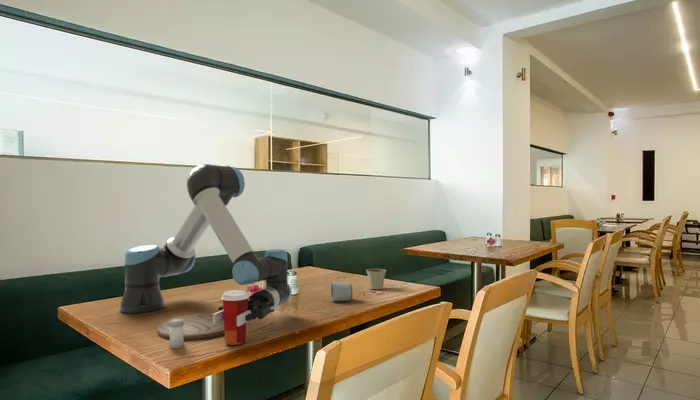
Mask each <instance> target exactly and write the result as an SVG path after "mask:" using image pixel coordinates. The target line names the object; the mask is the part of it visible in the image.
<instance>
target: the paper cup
mask: <svg viewBox="0 0 700 400" xmlns="http://www.w3.org/2000/svg"><path fill="white" fill-rule="evenodd" d="M249 297H250V295H249V293H248V292H247V291H246V290H229V291H225V292H223V294H222V295H221V298H220V300H221V301H222V306H223V315H224V332H225V335H224V342H225V344H226V345H228V346H229V345H230V346H237V345H238V346H239V345H242V344H244V343H246V338H247V323H248V322H246V323H244V324H243V325H241V326H237V316H238V315H240V314H242V313H244V312H246V311H247V308H248V299H249Z"/></svg>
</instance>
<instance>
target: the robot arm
mask: <svg viewBox="0 0 700 400" xmlns="http://www.w3.org/2000/svg"><path fill="white" fill-rule="evenodd" d="M245 184H246V182H245V177H244V174H243V173H242V172H241V170H240V169H239V168H237V167H235V166H230V165H226V166H225V165H219V164H218V165H216V164H208V163H207V164H206V163H205V164H204V163H203V164H200V165H197V166H195V167H194V168H193V169H192V170H191V171H190V173H189V174H188V177H187V181H186V188H187V194H188V196H189V197H190V200H191V201H192V203H193V204H194V206H193V207H192V209H191V210H190V212H189V213H188V215H187V217H186V219H185V220H184V222H183V223H182V225H181V226H180V227H179V229H178V231H177V233H176V234H175V236H173V237H170V238H169V239H168V240H167V241H166V243H165V244H164V246H162V247H160V246H159V245H157V244H146V245H139V246H134V247H131V248H129V249H128V250H127V251H126V252H125V258H124V274H125V275H124V279H125V280H124V283H125V285H124V292H123V295H122V299H121V301H120V304H119V311H120V312H121V313H124V314H125V313H126V314H139V313H140V314H141V313H148V312H153V311H157V310H161V309H162V308H164V306H165V299H164V297H163V295H162V294H163V293H162V291H161V288H160V278H164V277H165V278H166V277H169V276H170V277H171V276H176V275H181V274H184V273H185V274H186V273H187V272H189V271H190V270H191V269H192V268H193V267H194V265H195V262H196V249H195V247H196V245H197V244H198V243H199V242H200V239H201V238H202V236H203V235H204V234H205V232H206V231H207V229H208V227H209V226H210V227H211V228H212V230H213V232H214V234H215V235H216V237H217V239H218V240H219V242H220V244H221V245H222V247H223V249H224V250H225V252H226V254H227V256H228V258H229V259H230V260H231V262H232V263H233V267H232V269H231V270H232V271H231V274H232V278H233V280H234V282H236V284H238V285H240V286H241V285H242V286H246V285H252V284H255V283H258V282H262V281H264V282H265V287H263V288H261V289H259V290H257V291H255V292H253V293H251V294H250V295H249V298H248V308H247V311H246V312H244V313H242V314H240V315H238V316H237V326H241V325H243V324H244V323H246V322H247V323H248V322H249V321H252V320H257V319H258V320H259V321H260V320H263V319H265V318H266V317H267V316H268V315H269V314H271V313H273V312H275V309H276V308H277V307H279V306H281V305H284V304H285V303H286V302H288V300H290V298H291V297H292V287H291V286H290V284H289V283H288V263H289V262H288V261H289V260H288V252H287V250H286V249H281V248H270V249H267V250H266V251H265V253H264V254H265V255H264V256H263V257H258V256H257V254H256V253H255V252H254V249H253V248H252V246H251V245H250V243H249V241H248V240H247V238H246V237H245V235H244V233H243V232H242V230H241V229H240V227H239V226H238V224H237V222H236V220H235V219H234V217H233V215H232V214H231V212H230V211H229V209H228V208H227V206H228V205H229V203H230V201H231V200H232V198H237V197H239V196H241V195H242V194H243V193H244V191H245V187H246V185H245ZM213 313H214V314H213V324H217V323H219V322H220V321H222V320H224V315H223V305H220V306H218V311H217V312H213Z"/></svg>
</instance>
